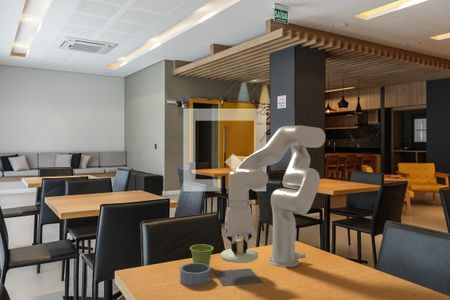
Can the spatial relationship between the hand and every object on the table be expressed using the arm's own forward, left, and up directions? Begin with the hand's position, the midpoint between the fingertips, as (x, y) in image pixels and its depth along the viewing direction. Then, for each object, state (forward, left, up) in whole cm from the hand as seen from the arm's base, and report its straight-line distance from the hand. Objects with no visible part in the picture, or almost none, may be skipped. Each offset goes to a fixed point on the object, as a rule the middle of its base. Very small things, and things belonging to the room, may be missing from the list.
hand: (239, 251), depth 135 cm
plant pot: (+12, -12, -10) cm, 20 cm away
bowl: (+17, 0, -10) cm, 19 cm away
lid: (0, 0, -2) cm, 2 cm away
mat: (+1, 0, -10) cm, 10 cm away
